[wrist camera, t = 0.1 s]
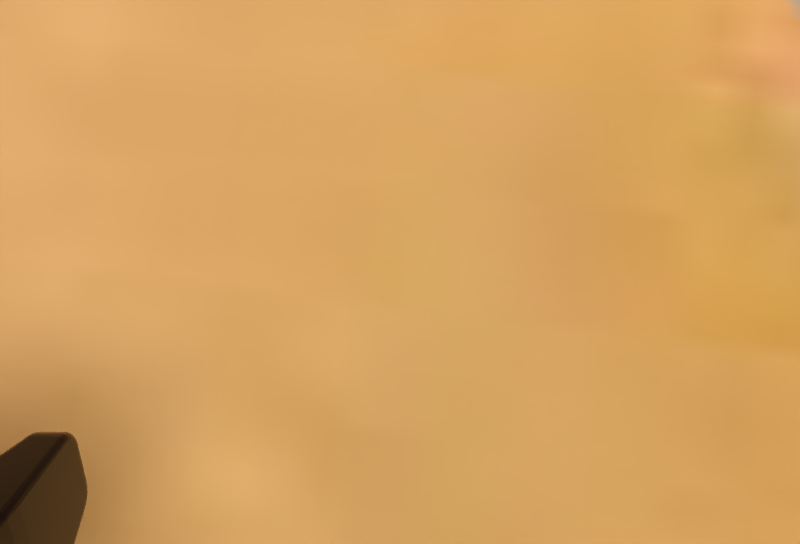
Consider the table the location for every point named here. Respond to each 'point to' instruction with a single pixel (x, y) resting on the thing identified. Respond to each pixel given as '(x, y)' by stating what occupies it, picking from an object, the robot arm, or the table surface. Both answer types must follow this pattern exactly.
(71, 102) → the table surface
